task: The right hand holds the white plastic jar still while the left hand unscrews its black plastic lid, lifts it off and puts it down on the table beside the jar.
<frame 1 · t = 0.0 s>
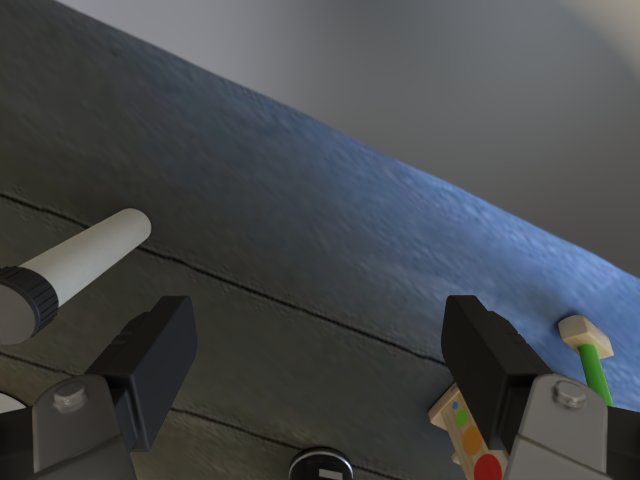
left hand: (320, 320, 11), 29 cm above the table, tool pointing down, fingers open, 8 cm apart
lid: (1, 311, 24), point 18 cm above the table, screwed on, not yet turned
jar: (133, 225, 41), on the table
pounding bench toy: (519, 377, 49), on the table
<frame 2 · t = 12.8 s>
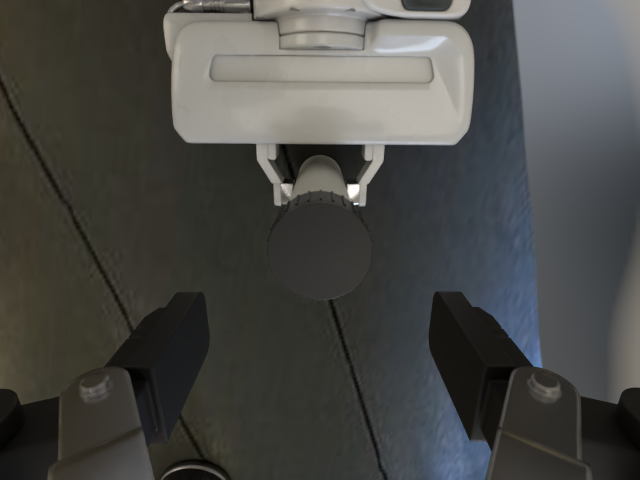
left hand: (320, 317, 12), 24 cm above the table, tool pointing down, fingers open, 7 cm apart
right hand: (320, 204, 28), fingers closed on jar, 4 cm apart
lid: (319, 251, 17), point 18 cm above the table, screwed on, not yet turned
jar: (320, 176, 34), on the table, touching right hand
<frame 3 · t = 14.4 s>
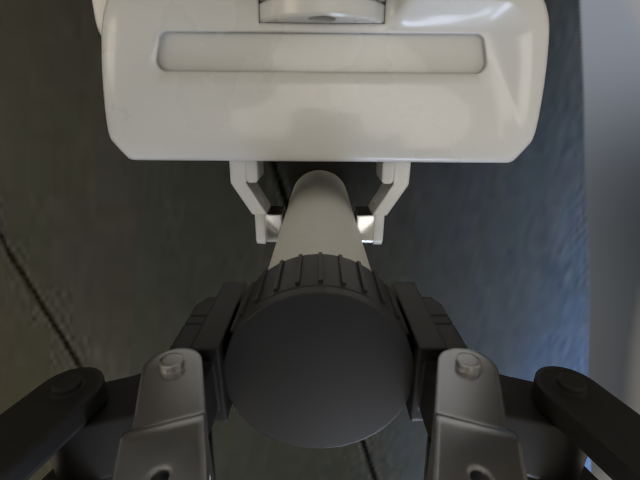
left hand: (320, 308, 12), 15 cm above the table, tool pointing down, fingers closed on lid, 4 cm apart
right hand: (320, 240, 21), fingers closed on jar, 4 cm apart
lid: (319, 368, 9), point 18 cm above the table, screwed on, not yet turned, touching left hand
jar: (319, 197, 26), on the table, touching right hand
when the left hand's fingers open (15 cm above the table, at t = 15.7 s): lid stays where it is, point 18 cm above the table.
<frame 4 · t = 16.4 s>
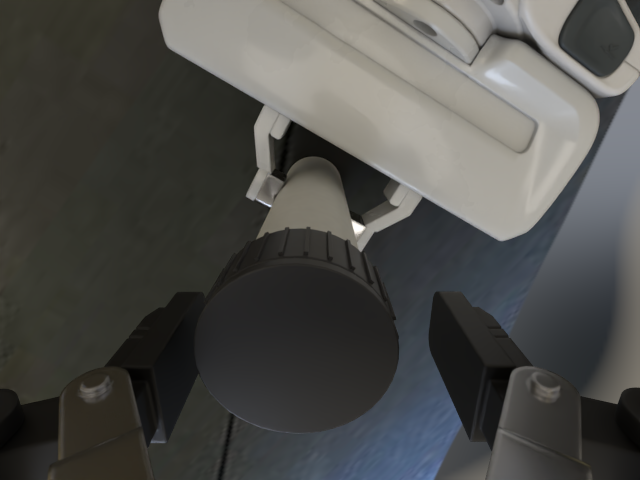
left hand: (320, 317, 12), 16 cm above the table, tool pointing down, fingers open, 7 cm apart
lid: (297, 348, 9), point 18 cm above the table, turned 64° so far, risen 0.2 cm, still on its thread
jar: (313, 184, 26), on the table, touching right hand
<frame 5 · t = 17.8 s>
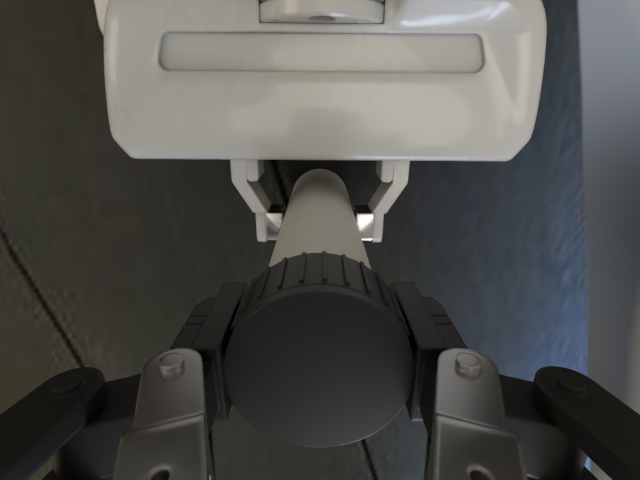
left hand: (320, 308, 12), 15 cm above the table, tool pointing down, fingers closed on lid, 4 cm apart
right hand: (320, 239, 21), fingers closed on jar, 4 cm apart
lid: (319, 367, 9), point 18 cm above the table, turned 64° so far, risen 0.2 cm, still on its thread, touching left hand
jar: (319, 196, 27), on the table, touching right hand
when the left hand's fingers open (0 cm above the table, at t = 23.8 s): lid drops 1 cm, point 2 cm above the table.
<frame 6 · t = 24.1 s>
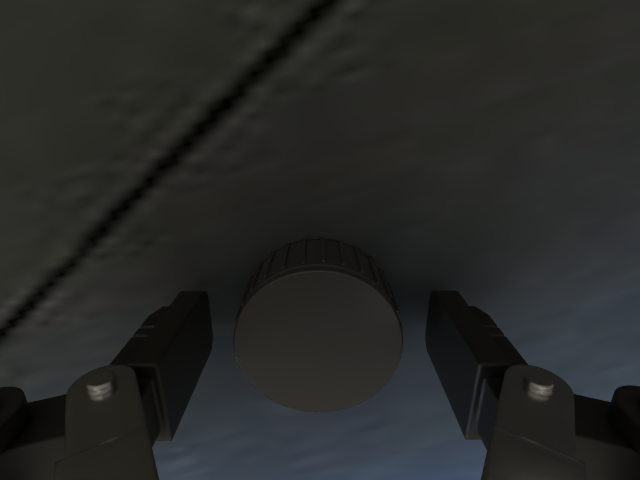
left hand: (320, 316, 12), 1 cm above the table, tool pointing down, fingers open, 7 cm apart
lid: (318, 339, 11), point 2 cm above the table, off its thread
when the right hand's fingers open (7 cm above the table, at t = 24.8 s): jar stays where it is, on the table.
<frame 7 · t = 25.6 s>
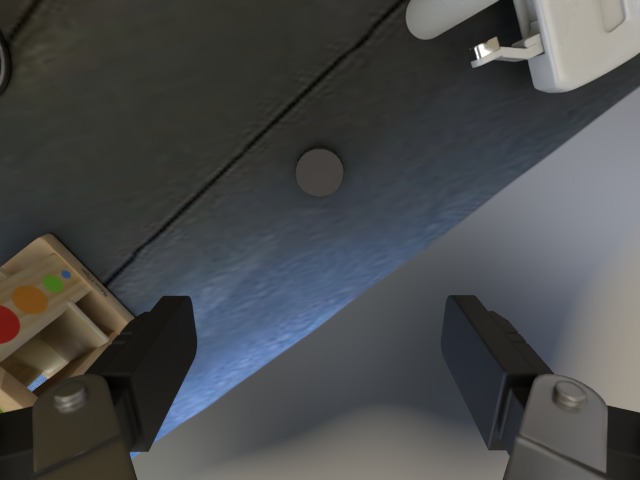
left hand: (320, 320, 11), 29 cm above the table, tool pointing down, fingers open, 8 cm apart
lid: (319, 172, 36), point 2 cm above the table, off its thread
jar: (427, 15, 33), on the table
pounding bench toy: (83, 331, 45), on the table
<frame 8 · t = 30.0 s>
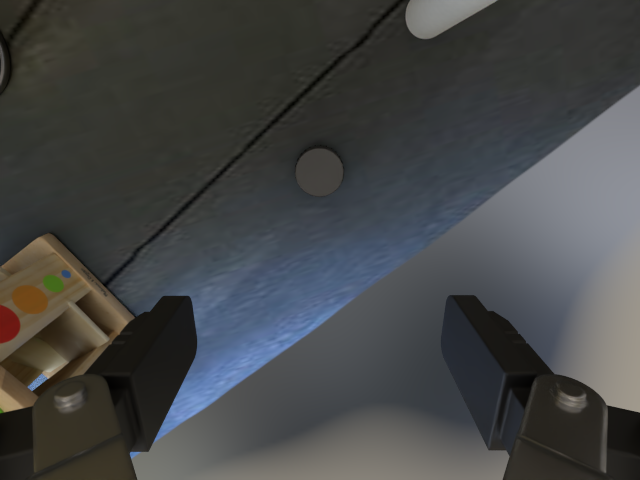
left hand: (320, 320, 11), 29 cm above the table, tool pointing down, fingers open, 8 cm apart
lid: (319, 172, 36), point 2 cm above the table, off its thread
jar: (427, 14, 33), on the table
pounding bench toy: (83, 331, 45), on the table
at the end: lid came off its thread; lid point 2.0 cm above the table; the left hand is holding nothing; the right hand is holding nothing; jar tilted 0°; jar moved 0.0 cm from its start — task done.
